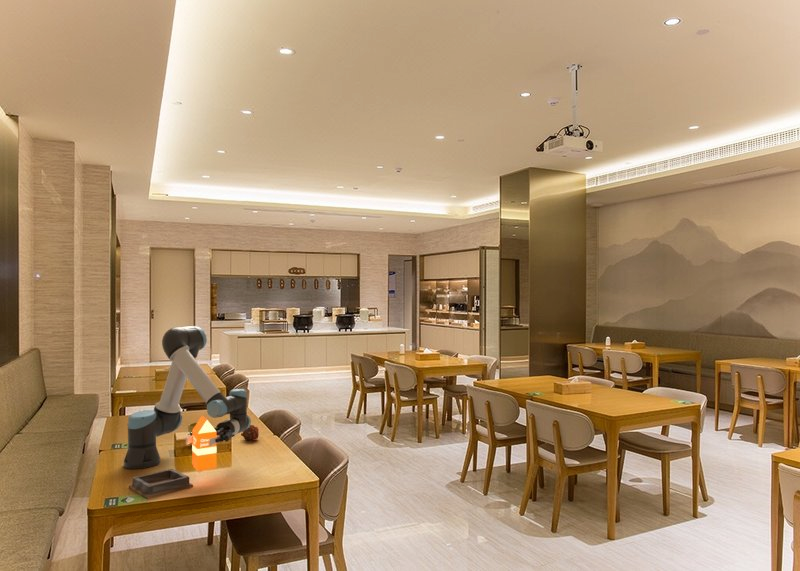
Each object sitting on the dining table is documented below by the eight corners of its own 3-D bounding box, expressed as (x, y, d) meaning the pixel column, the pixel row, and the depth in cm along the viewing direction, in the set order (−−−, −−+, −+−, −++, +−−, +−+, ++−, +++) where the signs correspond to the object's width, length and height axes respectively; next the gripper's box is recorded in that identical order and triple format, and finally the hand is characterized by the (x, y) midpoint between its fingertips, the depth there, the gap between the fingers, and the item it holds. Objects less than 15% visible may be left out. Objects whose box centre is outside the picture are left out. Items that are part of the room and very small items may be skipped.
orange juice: (196, 470, 227) (197, 420, 227) (191, 465, 234) (191, 416, 234) (217, 467, 231) (217, 418, 231) (211, 462, 238) (211, 414, 239)
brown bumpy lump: (252, 446, 296) (247, 444, 306) (265, 434, 300) (259, 433, 310) (241, 433, 294) (237, 432, 305) (254, 422, 298) (249, 421, 309)
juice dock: (128, 487, 228) (128, 477, 228) (173, 477, 241) (173, 467, 241) (147, 498, 215) (147, 488, 216) (192, 486, 228) (192, 476, 228)
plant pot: (202, 446, 291) (202, 426, 291) (184, 445, 293) (184, 425, 293) (213, 440, 301) (213, 422, 301) (195, 440, 303) (195, 421, 303)
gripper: (250, 439, 248) (223, 452, 226) (204, 436, 253) (173, 449, 231) (250, 421, 248) (223, 433, 226) (204, 419, 253) (173, 431, 231)
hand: (198, 441), depth 228 cm, fingers closed on orange juice, 10 cm apart
